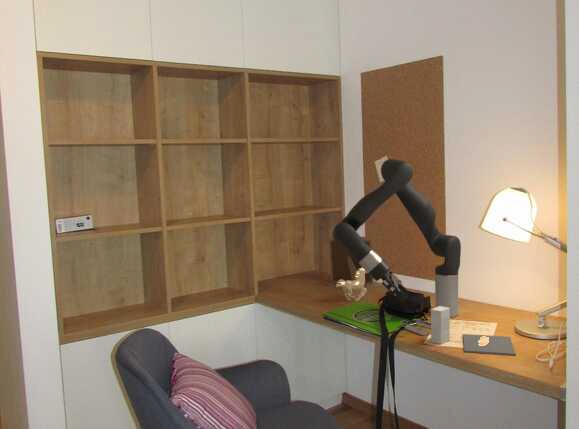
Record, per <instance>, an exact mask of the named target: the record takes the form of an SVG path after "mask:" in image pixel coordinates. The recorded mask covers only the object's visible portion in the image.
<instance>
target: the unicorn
mask: <svg viewBox="0 0 579 429" xmlns="http://www.w3.org/2000/svg"><path fill="white" fill-rule="evenodd" d="M365 273H367V272H366V271H365V270H364V269H363V268H362V267H361V268H360V269H358V271H357V272H356V274H355V275H356V276H354V277H356V278H355V279H356V280H355V281H350V280H347V281H345V280H342V279H341V280H339V281H338V282H337V283H336V285H335V288H342V289H343V292H344V297H345V298H346V299H347V300H348V302H351V301H352V300H351V299H354V300H355V302H358V301H360V300H361V298H363V297H364V296H365V295H366V293H367V291H368V289H367V288H366V287H365ZM358 290H359V291H360V292H359V295H358V297H357V298H356V297H355V296H354V295H352V294H353V291H358Z"/></svg>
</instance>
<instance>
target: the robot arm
mask: <svg viewBox="0 0 579 429" xmlns="http://www.w3.org/2000/svg"><path fill="white" fill-rule="evenodd" d="M380 174H381V177H382V179H383V181H384V182H383V183H382V184H381V185H380V186H378V187H377V188H375V189H374V190H373V191H372V190H371V191H370V192H369V193H367V194H366V195H365V196H363V197H361V199H359V200H358V202H356V204H354V206H353V207H352V208H351V209H350V210H349V212H348V213H347V215H346V216H345V217H344V218H343V219H342V220H341V221H339V223H337V224H336V225H335V227H334V228H333V230H332V233H331V234H332V235H331V236H332V237H333V239H334V240H335V241H336V242H337V243H340V244H343V245H344V246H345V247H346V248H347V249H348V250H349V252H350V254H351V256H352V257H353V258H354V259H355V260H356V261H357V262H358V263H359V264H360V265H361V266H362V268H363V269H364V270H365V271H366V272H367V273H368V274H369V275H370V276H371V277H372V278H373V279H374V281H375V282H378V281H380V279H381V281H382V282H381V284H382V285H383V286H384V287H385V288H386V289H387V290H388V292H390V294H391V295H393V296H396V297H397V298H398V299H399V300H400V301H401V302H402V303H405V302H406V301H408V295H409V294H410V291H409V290H408V289H407V288H406V287H405V286H404V285H403V283H402V282H403V281H402V280H400V279H399V278H398V277H397V276H396V275H395V274H394V273H393V272H392V271H391V270H390V269H391V266H390V264H389V263H387V261H385V259H383V257H382V256H381V255H380V254H378V253H377V252H376V251H375V250H374V249H373V248H372V249H371V248H370V247H369V246H368V245H367V244H366V243H365V242H364V241H363V240H362V238H361V237H362V236H360V234H359V233H358V232H357V231H358V230H359V229H360V228H361V226H363V225H364V224H365V223H367V221H368V220H369V219H370V217H372V215H373V214H374V213H375V212H376V211H377V210H378V209H379V208H380V207H381V206H382V205H383V204H385V203H386V202H387V201H388V200H389V199H390V198H391V197H392V196H394V195H395V194H396V195H397V198H398V199H399V201H400V202H401V204H402V206H403V207H404V208H405V210H406V211H407V214H409V217H410V218H411V219H412V220H413V222H414V224H415V225H416V226H417V228H418V229H419V231H420V232H421V234H422V236H423V237H424V239H425V241H426V242H427V245H428V247H429V249H430V251H431V252H432V254H434V255H435V256H437V257H441V258H444V261H443V263H442V264H438V265H436V266H435V268H434V308H436V307H438V306H443V307H447V308H450V318H454V317H457V316H458V315H459V270H460V267H461V252H462V245H461V244H462V243H461V240H460V239H459V237H458V236H456V235H450V234H443V233H441V231H440V230H439V228H438V227H437V226H436V225H437V224H436V219H437V218H436V217H437V216H436V215H437V214H436V209H434V206H433V205H432V203H431V201H430V200H429V199H428V198H427V197H426V195H424V194H423V193H422V192H421V191H420V190H419V189H417V187H416V186H414V185H413V184H412V183H411V182H410V181H411V180H412V178H413V176H414V167H413V166H412V165H411V163H409V162H407V161H404V160H401V159H400V160H399V159H396V158H395V159H392V158H389V159H386V160H385V161H383V162H382V164H381V167H380Z"/></svg>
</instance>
